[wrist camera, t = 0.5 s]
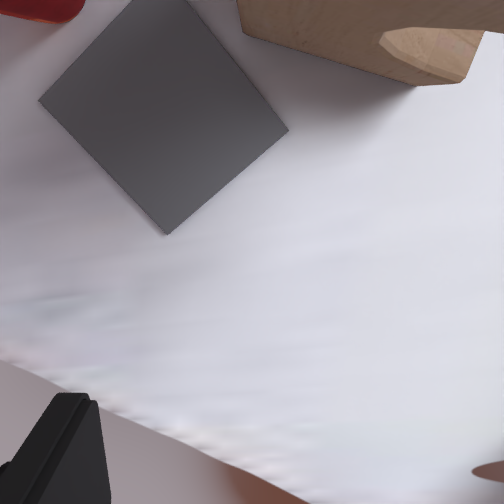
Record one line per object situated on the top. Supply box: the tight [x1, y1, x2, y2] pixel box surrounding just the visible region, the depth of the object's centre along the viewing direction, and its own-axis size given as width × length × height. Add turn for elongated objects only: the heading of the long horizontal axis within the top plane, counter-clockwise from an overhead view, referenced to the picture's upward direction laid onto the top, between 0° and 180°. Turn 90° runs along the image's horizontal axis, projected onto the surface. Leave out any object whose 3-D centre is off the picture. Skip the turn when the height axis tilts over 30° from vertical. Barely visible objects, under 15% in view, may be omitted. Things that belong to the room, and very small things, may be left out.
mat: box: [38, 0, 289, 235], centre depth 35 cm, size 14×15×1 cm
